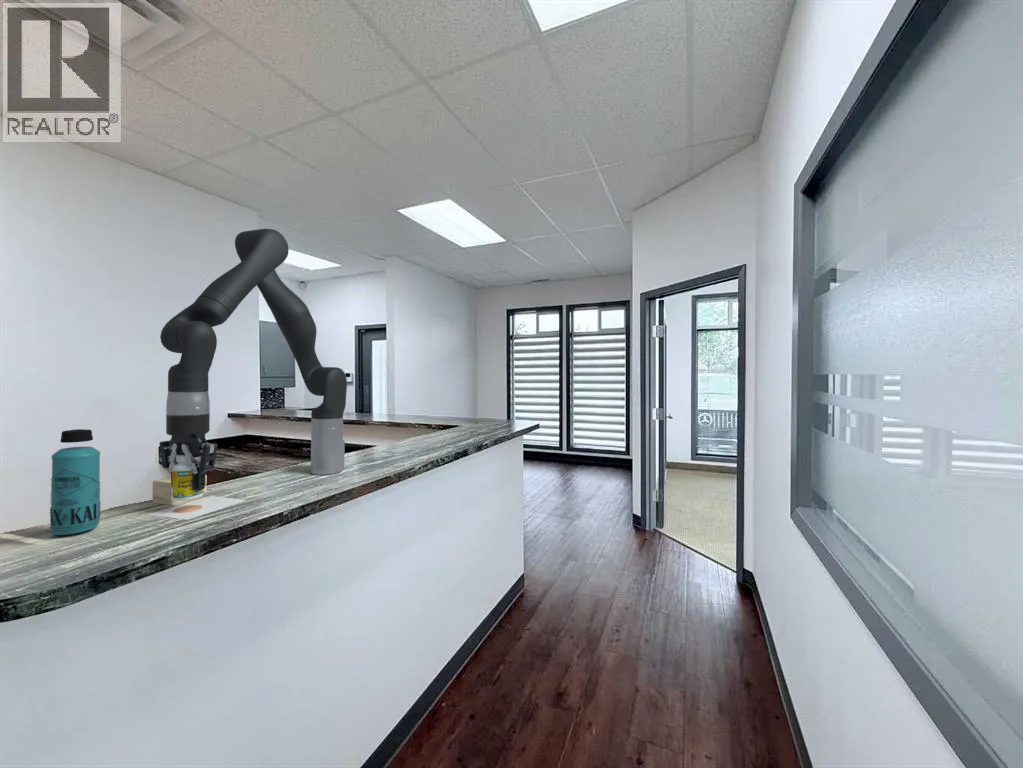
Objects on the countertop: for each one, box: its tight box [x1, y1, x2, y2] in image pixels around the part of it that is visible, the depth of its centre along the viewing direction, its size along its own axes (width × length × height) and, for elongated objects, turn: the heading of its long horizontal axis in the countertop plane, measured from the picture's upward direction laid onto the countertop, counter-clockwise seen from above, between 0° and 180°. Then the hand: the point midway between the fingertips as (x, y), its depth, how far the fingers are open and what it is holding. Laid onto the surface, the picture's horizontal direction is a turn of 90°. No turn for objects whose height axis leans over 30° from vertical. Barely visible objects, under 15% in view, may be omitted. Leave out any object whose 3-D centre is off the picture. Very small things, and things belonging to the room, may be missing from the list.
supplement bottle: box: [172, 455, 203, 502], centre depth 91 cm, size 5×5×10 cm
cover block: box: [152, 474, 208, 506], centre depth 98 cm, size 8×6×6 cm
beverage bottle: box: [49, 428, 102, 536], centre depth 77 cm, size 6×7×20 cm
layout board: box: [148, 495, 248, 521], centre depth 92 cm, size 14×11×1 cm
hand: (188, 488), depth 91 cm, fingers closed on supplement bottle, 5 cm apart
